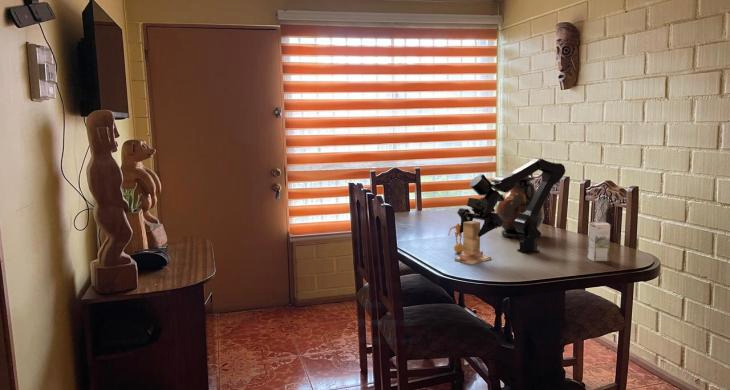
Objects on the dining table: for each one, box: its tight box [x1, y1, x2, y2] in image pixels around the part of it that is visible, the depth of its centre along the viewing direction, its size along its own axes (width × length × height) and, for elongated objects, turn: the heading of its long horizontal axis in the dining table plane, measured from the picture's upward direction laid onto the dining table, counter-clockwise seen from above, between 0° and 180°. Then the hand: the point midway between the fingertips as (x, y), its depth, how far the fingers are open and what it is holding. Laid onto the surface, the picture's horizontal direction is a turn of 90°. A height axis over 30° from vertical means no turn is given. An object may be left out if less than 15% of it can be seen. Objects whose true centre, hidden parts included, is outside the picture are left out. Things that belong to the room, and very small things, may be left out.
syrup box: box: [587, 221, 611, 263], centre depth 205 cm, size 6×6×14 cm
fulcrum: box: [454, 250, 492, 265], centre depth 209 cm, size 12×8×3 cm, turn 128°
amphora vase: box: [495, 175, 545, 240], centre depth 250 cm, size 22×22×28 cm
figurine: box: [448, 223, 463, 254], centre depth 221 cm, size 8×6×12 cm
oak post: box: [462, 220, 481, 255], centre depth 208 cm, size 4×4×12 cm
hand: (469, 234), depth 207 cm, fingers open, 9 cm apart
